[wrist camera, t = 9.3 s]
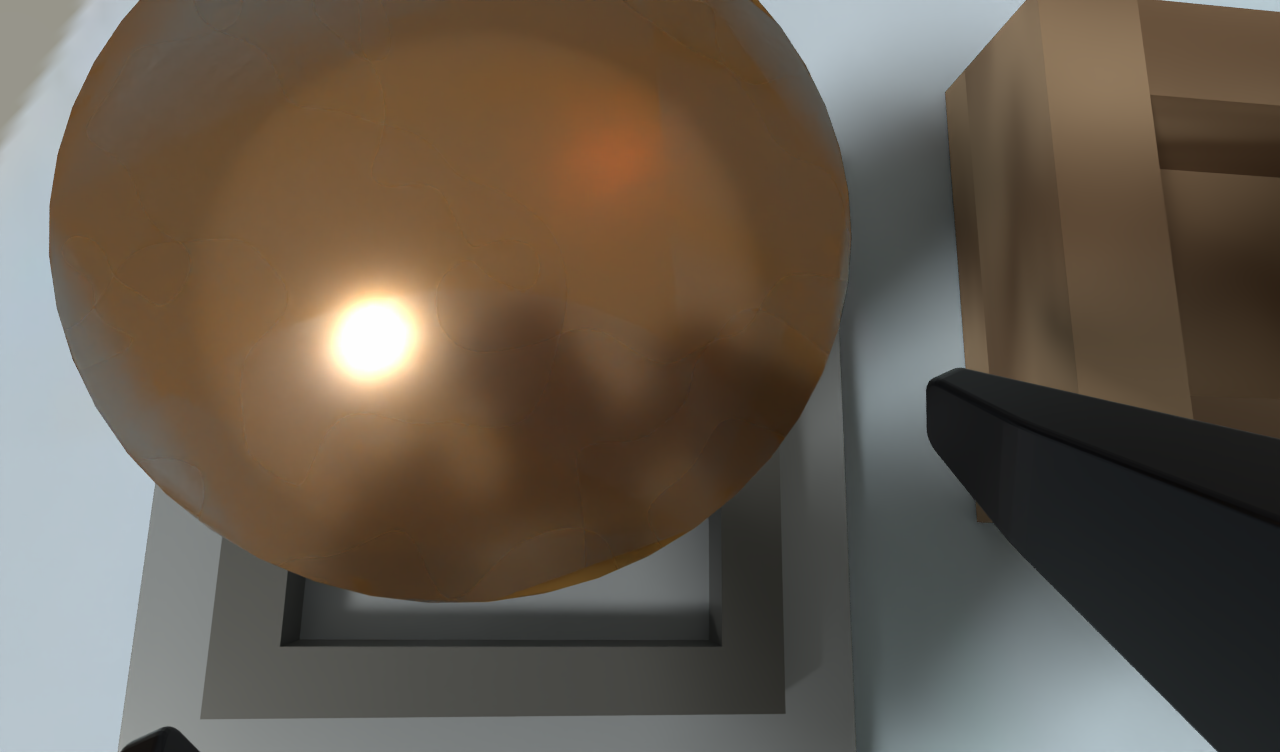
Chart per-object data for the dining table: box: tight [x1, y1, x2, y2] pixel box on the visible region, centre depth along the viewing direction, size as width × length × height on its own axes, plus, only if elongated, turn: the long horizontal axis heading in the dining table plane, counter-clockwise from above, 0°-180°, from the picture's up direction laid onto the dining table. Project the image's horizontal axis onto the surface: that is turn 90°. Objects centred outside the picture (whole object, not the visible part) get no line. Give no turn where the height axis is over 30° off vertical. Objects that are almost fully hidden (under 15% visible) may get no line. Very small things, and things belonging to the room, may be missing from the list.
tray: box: [118, 329, 856, 752], centre depth 17 cm, size 14×14×2 cm
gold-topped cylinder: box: [49, 0, 851, 603], centre depth 11 cm, size 5×5×12 cm
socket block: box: [945, 0, 1280, 523], centre depth 19 cm, size 11×11×4 cm
